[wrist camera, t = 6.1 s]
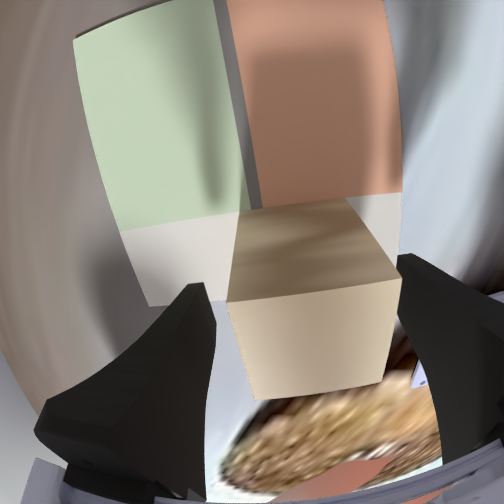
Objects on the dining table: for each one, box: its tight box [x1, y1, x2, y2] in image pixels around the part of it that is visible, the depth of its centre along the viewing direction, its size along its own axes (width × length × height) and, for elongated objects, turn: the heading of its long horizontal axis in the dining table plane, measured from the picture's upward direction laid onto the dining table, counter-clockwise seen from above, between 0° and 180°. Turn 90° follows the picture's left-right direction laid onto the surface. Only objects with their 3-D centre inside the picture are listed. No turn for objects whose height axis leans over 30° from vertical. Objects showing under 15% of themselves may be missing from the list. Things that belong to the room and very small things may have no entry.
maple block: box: [226, 198, 402, 400], centre depth 11 cm, size 4×4×6 cm
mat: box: [73, 0, 402, 307], centre depth 11 cm, size 13×14×1 cm
